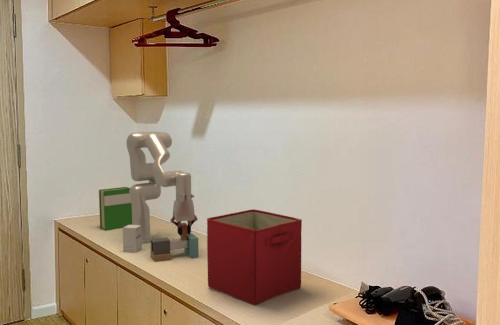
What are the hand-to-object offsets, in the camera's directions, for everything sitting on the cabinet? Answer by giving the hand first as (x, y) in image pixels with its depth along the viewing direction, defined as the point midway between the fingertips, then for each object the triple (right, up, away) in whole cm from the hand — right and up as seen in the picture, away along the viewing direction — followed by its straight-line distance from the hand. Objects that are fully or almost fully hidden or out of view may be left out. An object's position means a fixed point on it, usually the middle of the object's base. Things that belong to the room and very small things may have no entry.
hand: (184, 234), depth 255 cm
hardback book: (-50, -5, +62) cm, 80 cm away
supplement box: (-28, -10, +11) cm, 32 cm away
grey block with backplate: (-11, -11, -3) cm, 16 cm away
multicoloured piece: (-3, -7, -1) cm, 8 cm away
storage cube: (+34, -16, -46) cm, 60 cm away
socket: (+3, -11, +2) cm, 11 cm away
